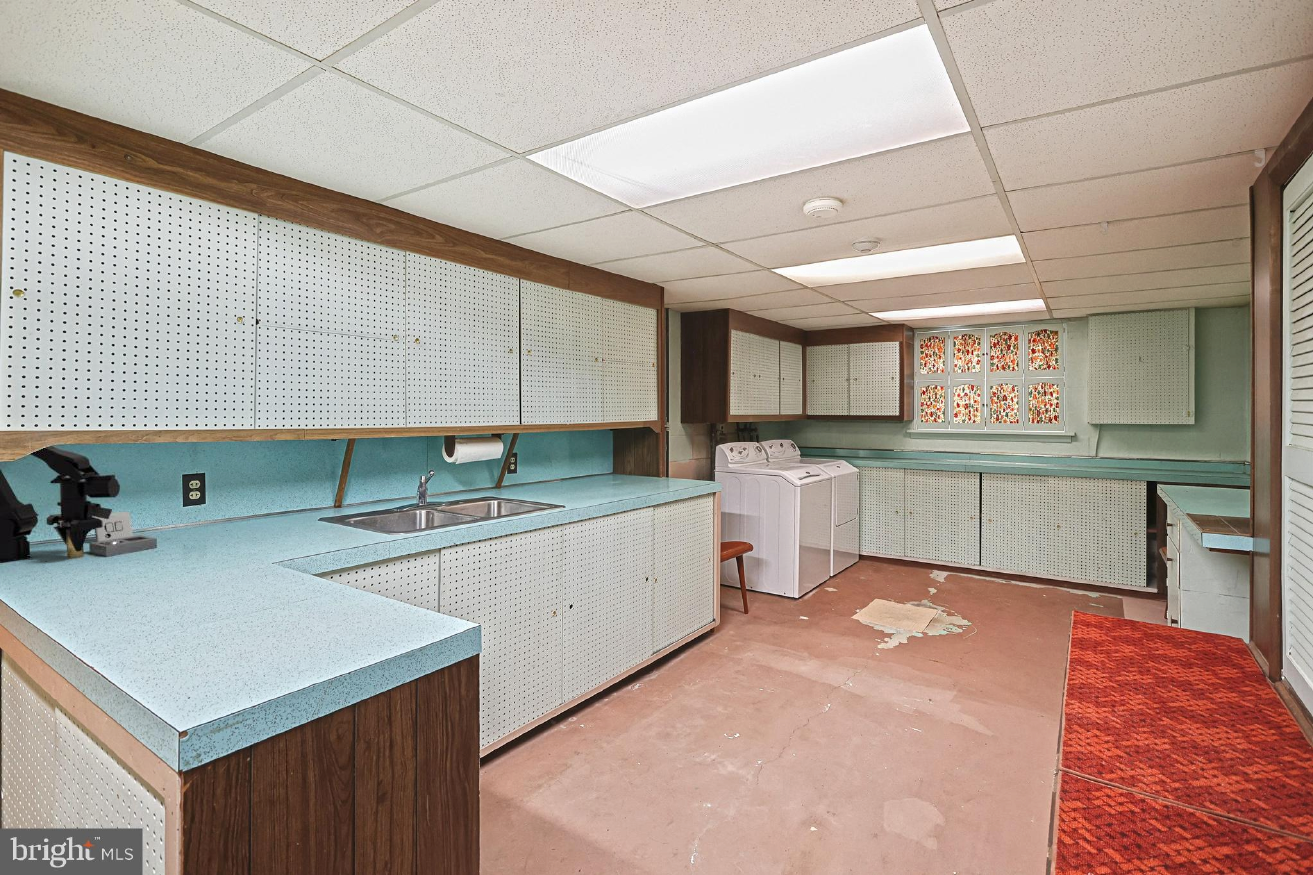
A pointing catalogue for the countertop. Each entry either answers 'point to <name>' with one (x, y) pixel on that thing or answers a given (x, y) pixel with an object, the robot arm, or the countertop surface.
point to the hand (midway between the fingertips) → (75, 550)
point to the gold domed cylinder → (73, 550)
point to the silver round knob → (111, 542)
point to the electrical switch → (114, 527)
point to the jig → (123, 546)
